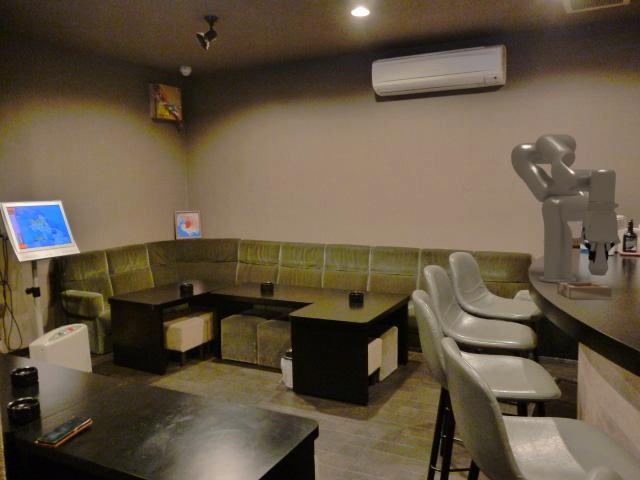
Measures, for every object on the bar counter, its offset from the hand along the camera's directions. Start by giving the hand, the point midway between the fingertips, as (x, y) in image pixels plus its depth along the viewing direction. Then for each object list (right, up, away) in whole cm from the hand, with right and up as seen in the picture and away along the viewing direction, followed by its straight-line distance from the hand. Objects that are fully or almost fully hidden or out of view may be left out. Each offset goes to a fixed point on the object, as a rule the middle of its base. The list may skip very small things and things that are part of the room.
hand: (598, 262), depth 168 cm
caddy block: (-10, -10, -10) cm, 18 cm away
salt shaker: (0, -4, +1) cm, 4 cm away
